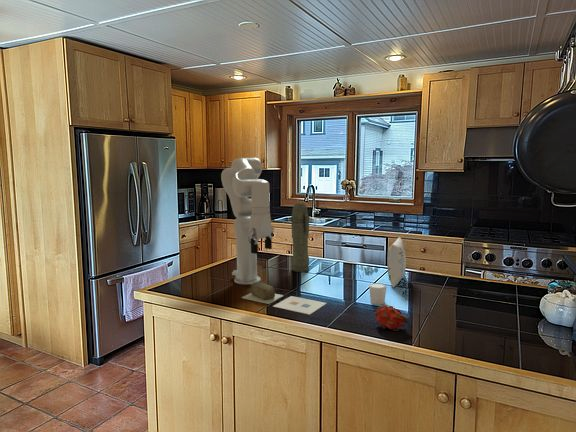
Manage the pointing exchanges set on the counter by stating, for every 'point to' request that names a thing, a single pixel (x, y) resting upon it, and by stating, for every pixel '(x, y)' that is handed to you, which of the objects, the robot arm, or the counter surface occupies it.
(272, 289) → the stone block
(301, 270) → the olive stone pillar
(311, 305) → the tile
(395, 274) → the pouch
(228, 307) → the counter surface
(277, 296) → the pale green pad
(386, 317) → the dragon fruit
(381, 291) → the white cylinder
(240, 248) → the robot arm
